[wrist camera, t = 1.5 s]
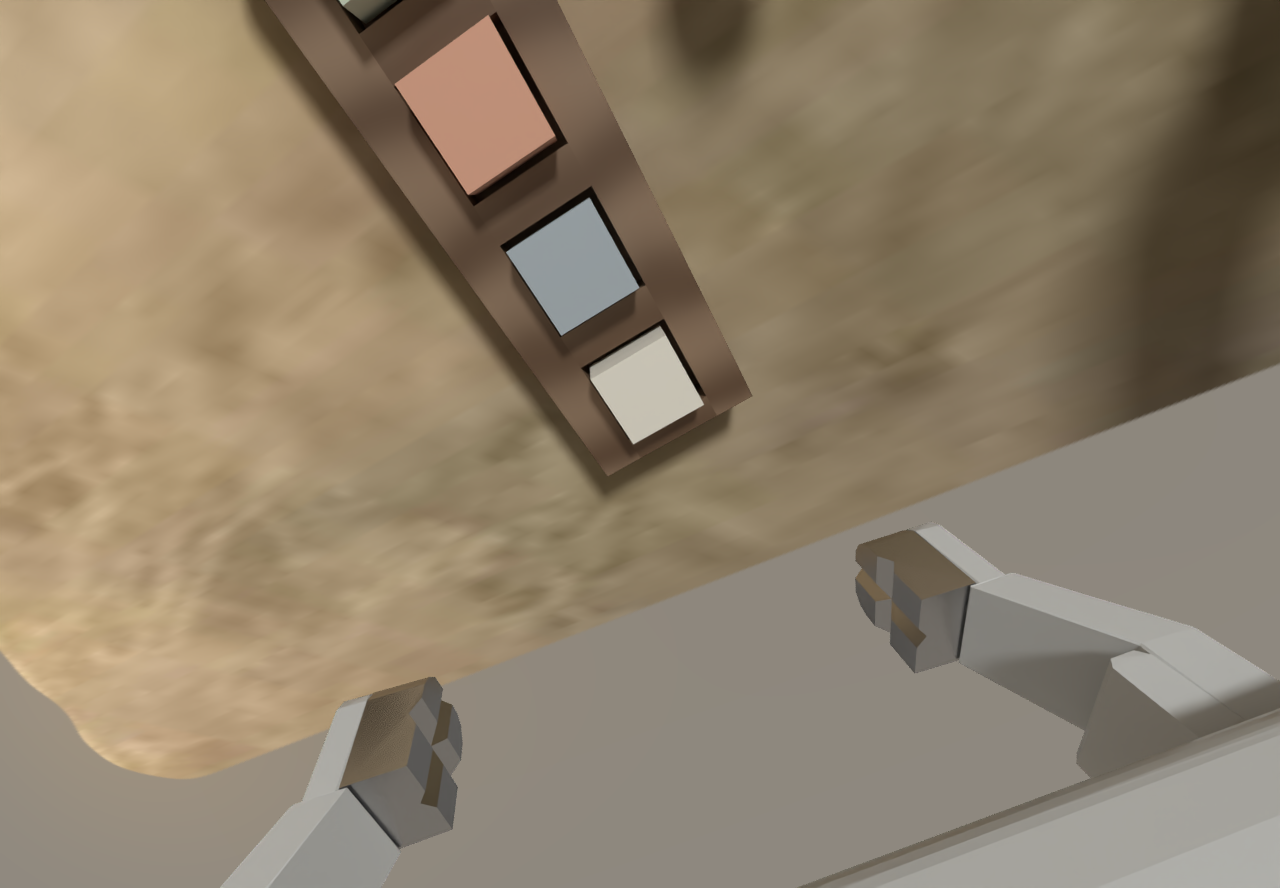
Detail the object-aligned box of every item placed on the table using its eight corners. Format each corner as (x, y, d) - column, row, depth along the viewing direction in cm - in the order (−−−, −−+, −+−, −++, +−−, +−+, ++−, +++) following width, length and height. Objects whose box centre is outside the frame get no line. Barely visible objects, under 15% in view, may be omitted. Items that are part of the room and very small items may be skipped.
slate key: (512, 247, 27) (505, 252, 25) (588, 197, 27) (589, 197, 25) (562, 324, 30) (561, 335, 27) (635, 280, 29) (639, 287, 27)
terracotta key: (411, 94, 24) (394, 84, 22) (497, 31, 23) (488, 15, 21) (477, 194, 26) (468, 194, 24) (557, 140, 25) (555, 135, 23)
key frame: (230, -87, 23) (165, -138, 19) (421, -250, 21) (389, -338, 18) (605, 449, 37) (607, 476, 34) (735, 375, 36) (752, 395, 32)
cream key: (589, 366, 31) (590, 379, 29) (659, 324, 30) (665, 335, 28) (629, 427, 33) (633, 444, 31) (695, 390, 32) (704, 404, 30)
